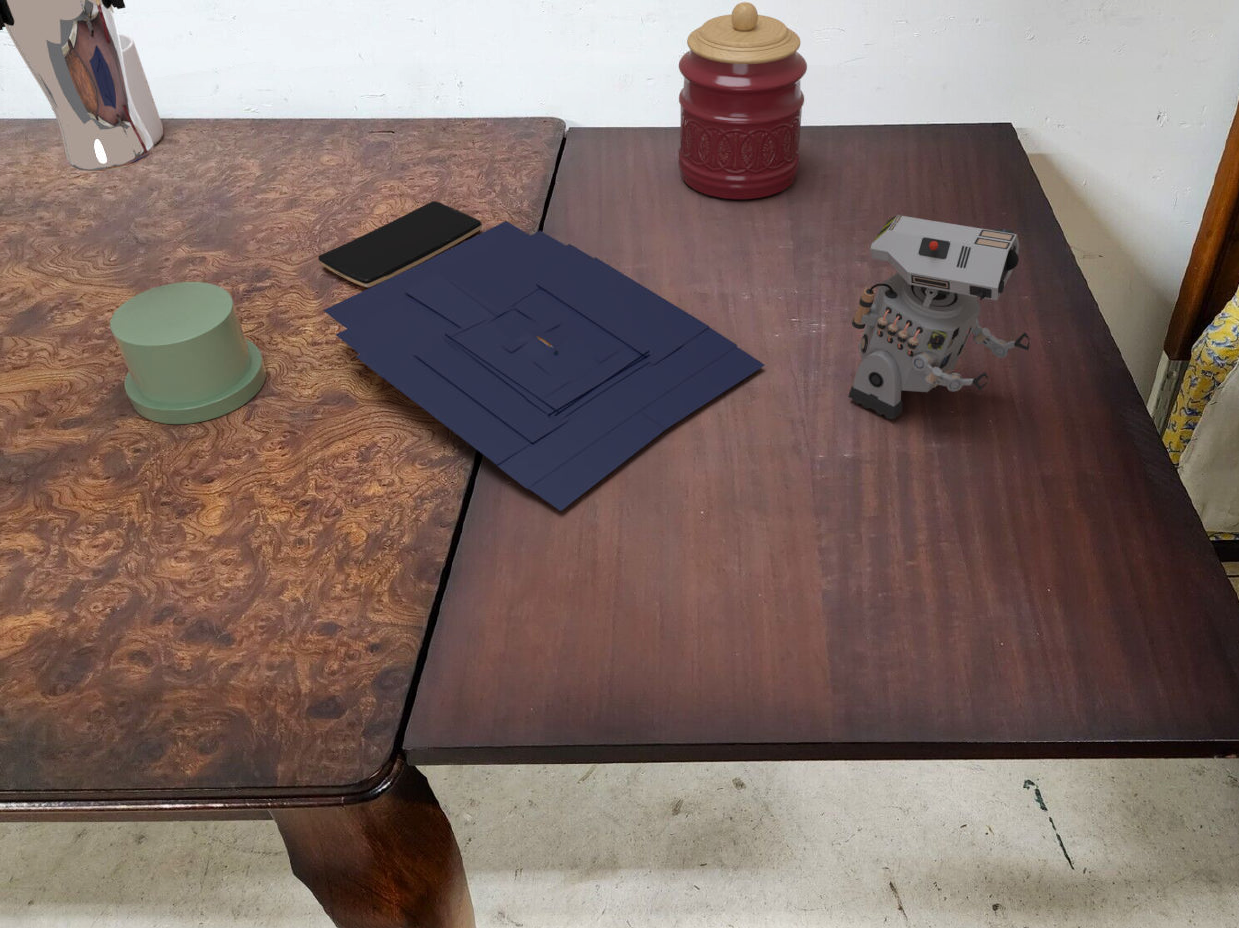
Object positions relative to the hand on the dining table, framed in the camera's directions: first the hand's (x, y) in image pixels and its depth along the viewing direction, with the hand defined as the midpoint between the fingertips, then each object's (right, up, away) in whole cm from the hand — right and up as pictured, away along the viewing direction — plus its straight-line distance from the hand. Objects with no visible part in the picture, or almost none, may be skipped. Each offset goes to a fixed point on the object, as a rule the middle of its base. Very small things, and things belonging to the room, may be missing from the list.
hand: (57, 11), depth 73 cm
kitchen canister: (+50, +2, +43) cm, 66 cm away
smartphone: (+16, -9, +31) cm, 36 cm away
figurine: (+62, -25, +13) cm, 69 cm away
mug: (-20, +8, +50) cm, 54 cm away
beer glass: (0, -8, +7) cm, 10 cm away
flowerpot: (+3, -24, +16) cm, 28 cm away
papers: (+31, -22, +17) cm, 42 cm away
